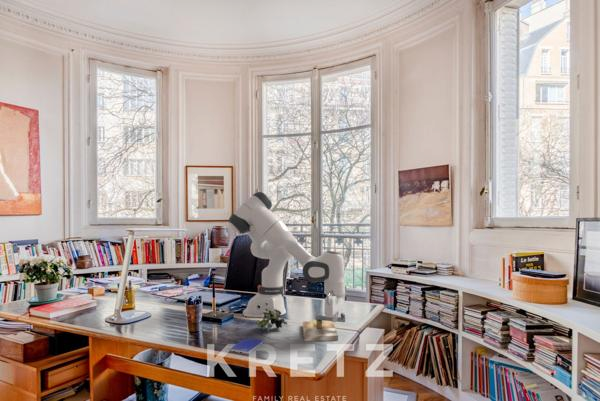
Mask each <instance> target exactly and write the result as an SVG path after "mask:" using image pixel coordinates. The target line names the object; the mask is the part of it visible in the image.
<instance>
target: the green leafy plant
mask: <svg viewBox="0 0 600 401" xmlns="http://www.w3.org/2000/svg"><path fill="white" fill-rule="evenodd" d="M274 311H275V312H276V313H275V312H273V311H272V310H269V312H268V313H266V312H264V311H263V314H265V315H264V317H262V319H261V320H258V319H257V320H256V322H255V325H257V328H260V329H262V330H265V327H266V326H267V332H266V334H268V333H269V331H270V329H271V328H272V327H273V325H275V328H276V329H280V328H281V329H283V326H282V325H283V324H284V325H288V322H287V321H285V318H284V317H282V316H283V315H280V314H281V312H280V311H279V310H277V309H276V310H275V309H274ZM278 314H279V315H278Z"/></svg>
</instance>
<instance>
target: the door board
mask: <svg viewBox="0 0 600 401" xmlns="http://www.w3.org/2000/svg"><path fill="white" fill-rule="evenodd" d="M302 331H303V341H304V342H321V341H322V342H323V341H324V342H325V341H327V342H329V341H332V342H333V341H339V334H338V332H337V329H336V327H335V324H334V322H333V321H324V320H321V321H318V320H316V319H313V320H312V321H302Z"/></svg>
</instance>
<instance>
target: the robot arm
mask: <svg viewBox="0 0 600 401" xmlns="http://www.w3.org/2000/svg"><path fill="white" fill-rule="evenodd" d="M272 207H273V204H272V200H271V199H270V197H269V195H267V194H266V193H264V192H262V191H257V192H255V193H253V194H252V196H250V197H249V198H247V199H246V200H245V201H244V202H243V203H242V204H241V205H240V206H239V207H238V208H236V210H235V212H233V213H232V214H231V215H230V216H229V218H228V224H229V225H230V228H231V229H232V230H233V231H234V232H236V233H238V234H240V235H244V234H247V235H248V237H249V238H250V239H251V244H250V252H251V253H250V254H252V255H253V256H254V257H256V258H259V259H263V260H269V262H268V265H267V266H266V267H264V268H263V269H262V271H261V285H260V284H258V285H257V293H256V294H255V295H254V296H252V298H250V299H249V300H248V303H247V306H246V308H245V309H244V310H243V311H242V316H243V315H244V316H243V317H245V316H247V318H249V317H250V318H264V315H265V314H263V311H264V312H266V313H268V312H269V310H272V311H273V312H275V311H274V309H275V310H276V309H277V310H279V311H280V312H281V314H280V315H282V316H283V315H285V314H286V313H287V310H286V306H285V299H284V295H285V286H284V284H283V283H284V281H283V280H284V270H285V267H286V264H287V262H288V261H289V260H291V258H292V257H293V258H294V259H295V260H296V261H297V262H298V263H299V264H300V265H301V267H302V275H303V277H304V279H305V280H306V281H308V282H310V283H317V282H322V281H324V283H323V284H324V291H323V294H325V295H326V297H325V298H324V311H323V312H324V313H323V314H324V316H331V317H332V318H333V323H338V322H337V321H338V317H339V311H340V310H341V309H342V308H343V307H345V303H346V291H347V285H346V283H345V282H346V280H345V278H344V277H345V276H344V275H345V260H344V256H343V255H342V253H340V252H337V251H331V250H327V251H325V252H324V253H323V254H320V255H318V256H316V255H315V254H311V253H310V252H309V251H308V250H307V249H305V247H304V246H303V245H301V243H300V242H298V241H297V239H296V238H295V236H294V235H293V233H292V231H291V230H290V228H288V226H287V225H286V223H284V221H283V220H282V219H281V218H279V216H277V214H275V213H274V212H273V211H272V210H271V208H272ZM275 313H276V312H275ZM278 315H279V314H278Z"/></svg>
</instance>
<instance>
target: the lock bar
mask: <svg viewBox="0 0 600 401" xmlns="http://www.w3.org/2000/svg"><path fill="white" fill-rule="evenodd" d="M315 320H318V321H321V320H322V321H333V318H332V316H325V315H322V314H316V315H315ZM338 322H339V323H345V322H346V313H345V312H342V313H340V316H338V321H337V322H336V323H338Z"/></svg>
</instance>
